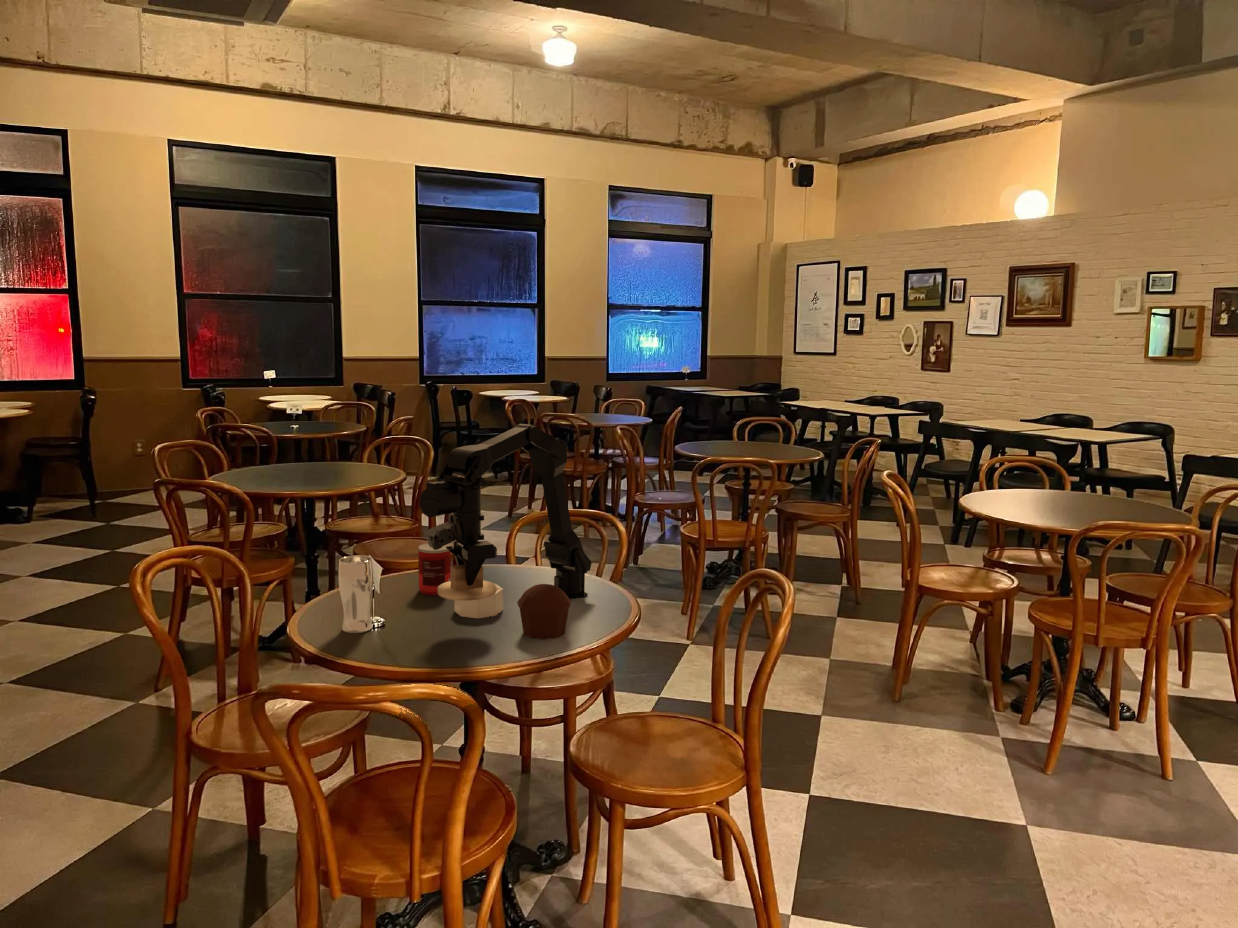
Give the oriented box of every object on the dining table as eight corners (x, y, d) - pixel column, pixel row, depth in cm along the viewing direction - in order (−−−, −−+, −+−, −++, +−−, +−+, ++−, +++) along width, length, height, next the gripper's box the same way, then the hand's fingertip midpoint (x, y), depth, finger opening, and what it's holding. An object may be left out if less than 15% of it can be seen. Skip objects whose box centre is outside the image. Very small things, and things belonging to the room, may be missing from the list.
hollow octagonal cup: (491, 601, 205) (491, 580, 204) (508, 613, 196) (508, 592, 196) (450, 607, 200) (449, 586, 199) (465, 620, 191) (465, 598, 191)
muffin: (511, 626, 188) (511, 581, 187) (560, 620, 192) (561, 576, 191) (526, 644, 177) (526, 597, 176) (578, 638, 182) (579, 591, 180)
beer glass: (381, 625, 187) (379, 556, 185) (361, 635, 180) (359, 564, 178) (353, 621, 189) (351, 553, 187) (333, 631, 183) (330, 561, 180)
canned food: (440, 584, 218) (439, 541, 216) (457, 591, 212) (457, 547, 210) (412, 589, 213) (411, 545, 211) (429, 597, 207) (429, 552, 205)
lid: (483, 581, 191) (483, 556, 190) (504, 595, 181) (504, 569, 180) (429, 587, 185) (429, 562, 184) (448, 603, 175) (448, 576, 174)
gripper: (414, 504, 184) (415, 576, 187) (443, 522, 168) (444, 600, 171) (465, 500, 190) (465, 570, 192) (498, 517, 174) (497, 593, 176)
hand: (467, 583), depth 183 cm, fingers closed on lid, 3 cm apart
